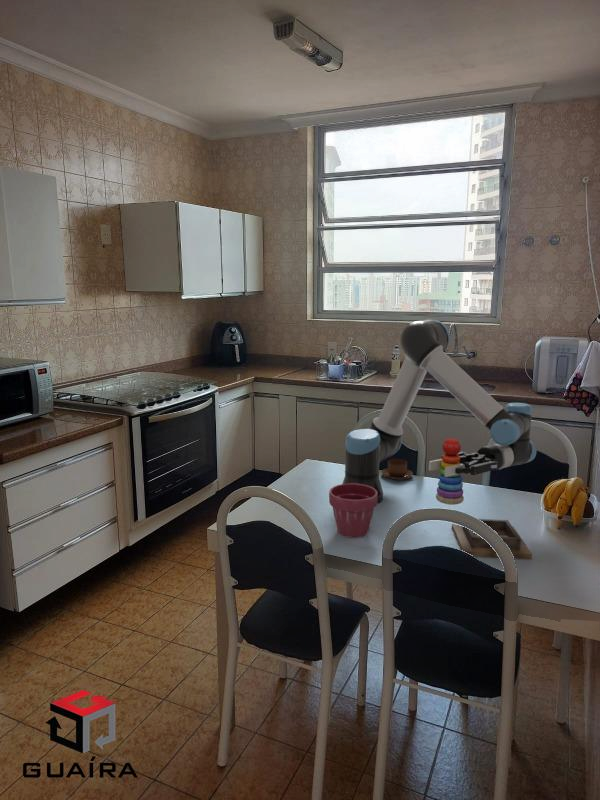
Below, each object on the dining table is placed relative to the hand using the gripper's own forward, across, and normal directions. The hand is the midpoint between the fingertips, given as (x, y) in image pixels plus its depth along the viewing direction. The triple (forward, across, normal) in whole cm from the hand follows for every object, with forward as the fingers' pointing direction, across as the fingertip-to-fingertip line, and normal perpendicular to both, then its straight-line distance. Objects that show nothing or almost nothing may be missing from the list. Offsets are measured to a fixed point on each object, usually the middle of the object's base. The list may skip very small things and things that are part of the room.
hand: (437, 469), depth 158 cm
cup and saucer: (-26, +48, -21) cm, 59 cm away
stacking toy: (-5, 0, -11) cm, 12 cm away
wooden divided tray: (-11, -11, -21) cm, 26 cm away
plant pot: (+19, +15, -21) cm, 32 cm away
